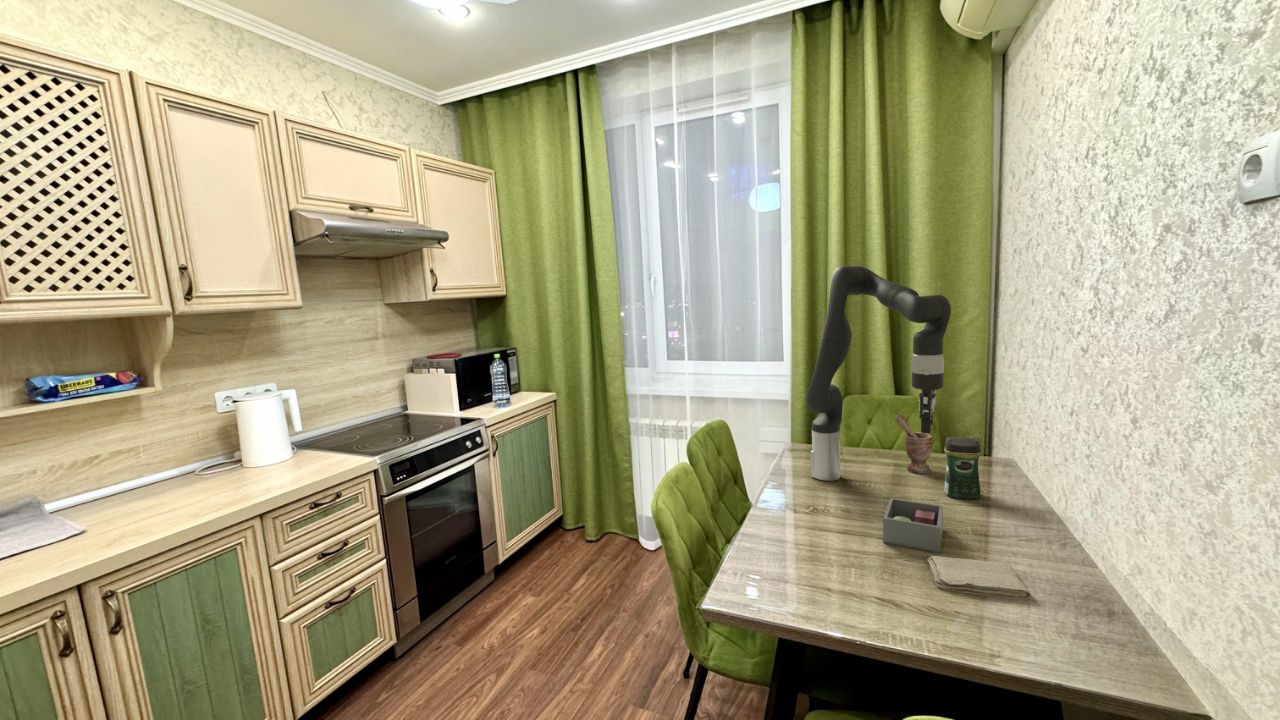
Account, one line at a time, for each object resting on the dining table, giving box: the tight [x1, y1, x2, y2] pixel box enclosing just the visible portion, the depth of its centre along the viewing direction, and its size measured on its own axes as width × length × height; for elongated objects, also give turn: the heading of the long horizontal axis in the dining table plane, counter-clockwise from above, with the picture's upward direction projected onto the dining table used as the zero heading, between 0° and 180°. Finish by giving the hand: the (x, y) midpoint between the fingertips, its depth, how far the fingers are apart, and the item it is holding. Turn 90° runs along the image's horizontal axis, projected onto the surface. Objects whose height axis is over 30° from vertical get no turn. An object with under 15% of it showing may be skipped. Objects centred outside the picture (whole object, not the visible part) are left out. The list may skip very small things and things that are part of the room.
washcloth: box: [926, 555, 1032, 600], centre depth 117 cm, size 12×18×3 cm, turn 71°
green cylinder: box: [893, 516, 911, 521], centre depth 136 cm, size 4×4×5 cm
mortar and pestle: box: [894, 414, 933, 475], centre depth 181 cm, size 12×9×20 cm
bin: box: [882, 497, 944, 555], centre depth 137 cm, size 13×14×7 cm
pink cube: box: [915, 510, 935, 525], centre depth 138 cm, size 4×4×5 cm
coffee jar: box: [943, 436, 982, 500], centre depth 158 cm, size 10×8×19 cm
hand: (927, 428), depth 139 cm, fingers open, 8 cm apart
